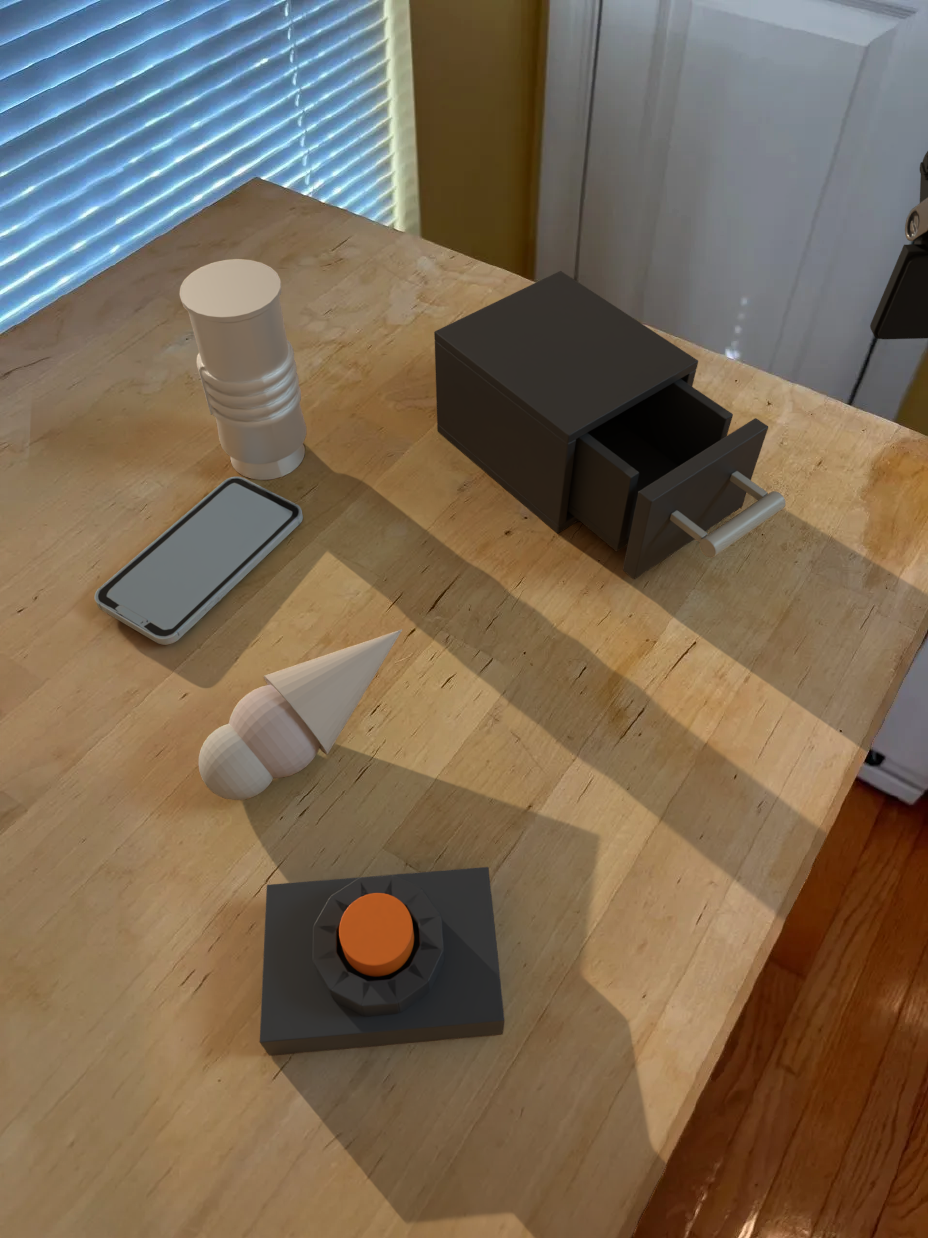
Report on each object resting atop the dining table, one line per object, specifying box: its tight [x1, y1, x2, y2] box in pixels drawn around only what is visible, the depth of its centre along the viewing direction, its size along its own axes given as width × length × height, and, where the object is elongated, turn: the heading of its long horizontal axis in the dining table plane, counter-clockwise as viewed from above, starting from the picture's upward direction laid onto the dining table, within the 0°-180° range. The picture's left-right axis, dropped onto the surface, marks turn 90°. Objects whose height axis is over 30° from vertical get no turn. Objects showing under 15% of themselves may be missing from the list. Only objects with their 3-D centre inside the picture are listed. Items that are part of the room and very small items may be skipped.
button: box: [339, 893, 414, 977], centre depth 47 cm, size 4×4×2 cm
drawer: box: [567, 379, 786, 580], centre depth 67 cm, size 18×11×8 cm, turn 39°
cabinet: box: [433, 270, 699, 534], centre depth 72 cm, size 15×13×10 cm
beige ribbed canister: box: [179, 258, 307, 481], centre depth 69 cm, size 7×7×15 cm
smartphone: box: [94, 476, 304, 645], centre depth 68 cm, size 7×1×15 cm
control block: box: [259, 866, 505, 1057], centre depth 49 cm, size 12×8×4 cm, turn 95°
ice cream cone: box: [198, 628, 404, 801], centre depth 57 cm, size 6×6×15 cm
